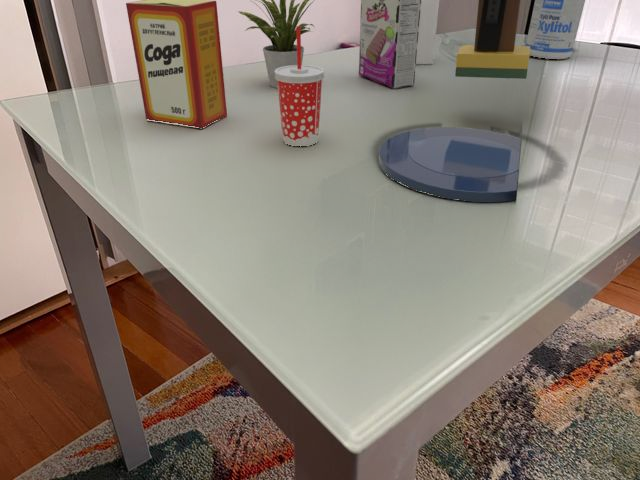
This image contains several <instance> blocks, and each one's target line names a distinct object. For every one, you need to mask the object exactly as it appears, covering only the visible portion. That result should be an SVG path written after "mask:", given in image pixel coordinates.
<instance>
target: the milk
mask: <svg viewBox="0 0 640 480" xmlns="http://www.w3.org/2000/svg"><path fill="white" fill-rule="evenodd" d="M439 8H440V0H421V9H420V21H419V34H418V45H417V56H416V66H418V65H419V66H420V65H433V64H434V56H435V45H436V38H437V37H436V36H437V27H438V17H439Z"/></svg>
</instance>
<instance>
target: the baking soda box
mask: <svg viewBox="0 0 640 480" xmlns="http://www.w3.org/2000/svg"><path fill="white" fill-rule="evenodd" d="M125 6H126V12H127V18H128V23H129V30H130V34H131V42H132V47H133V51H134V57H135V63H136V70H137V75H138V80H139V87H140V93H141V98H142V103H143V108H144V115H145V120H146V119H149V120H155V121H163V122H169V123H178V124H183V125H188V126H195V127H199V128H203V127H205V126H207V125H208V124H210V123H212V122H214V121H216V120H219V119H221V118H223V117H225V118H227V117H228V111H227V100H226V98H227V97H226V89H225V78H224V67H223V58H222V47H221V36H220V25H219V15H218V5H217V0H137V1H131V2H130V1H129V2H126V3H125ZM226 116H227V117H226ZM223 119H224V118H223ZM221 120H222V119H221ZM219 121H220V120H219Z"/></svg>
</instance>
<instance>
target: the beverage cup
mask: <svg viewBox="0 0 640 480" xmlns="http://www.w3.org/2000/svg"><path fill="white" fill-rule="evenodd" d="M295 29H297V39H296V45H297V65H291V66H284V67H280V68H277V69H276V70H275V71H274V74H275V79H276V80H277V85H278V88H277V93H278V95H277V96H278V104H279V113H280V124H281V133H282V142H283V141H284V142H285V143H284V142H283V143H284V144H285V145H287V144H288V145H287V146H289V145H291V146H290V147H293V146H300V147H299V148H302V147H301V146H307V147H311V146H310V145H312V146H314V145H313V144H315V143H316V144H318V143H319V135H320V119H321V103H322V101H321V100H322V88H323V87H322V85H323V84H322V83H323V79H324V78H325V69H323V68H322V67H321V66H320V67H319V66H316V65H309V64H302V65H301V46H302V38H301V37H302V34H301V28H300V26H299V25H297V26H296V28H295ZM317 142H318V143H317ZM316 144H315V145H316Z"/></svg>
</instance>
